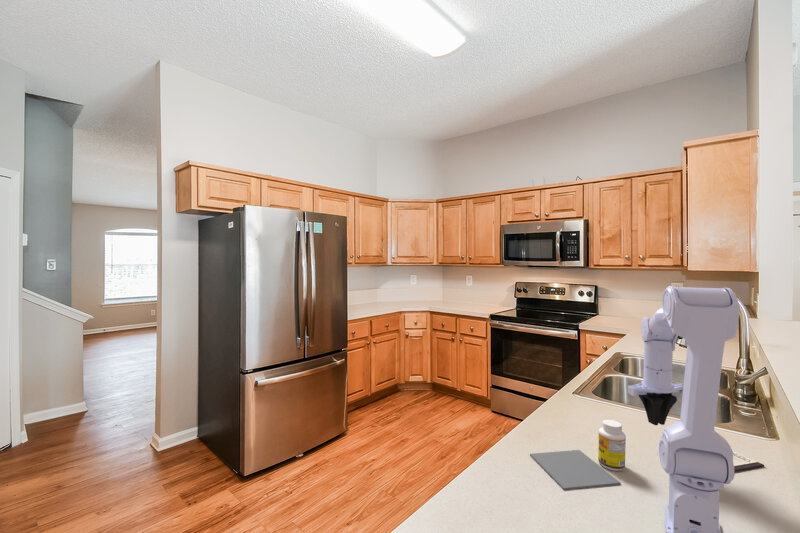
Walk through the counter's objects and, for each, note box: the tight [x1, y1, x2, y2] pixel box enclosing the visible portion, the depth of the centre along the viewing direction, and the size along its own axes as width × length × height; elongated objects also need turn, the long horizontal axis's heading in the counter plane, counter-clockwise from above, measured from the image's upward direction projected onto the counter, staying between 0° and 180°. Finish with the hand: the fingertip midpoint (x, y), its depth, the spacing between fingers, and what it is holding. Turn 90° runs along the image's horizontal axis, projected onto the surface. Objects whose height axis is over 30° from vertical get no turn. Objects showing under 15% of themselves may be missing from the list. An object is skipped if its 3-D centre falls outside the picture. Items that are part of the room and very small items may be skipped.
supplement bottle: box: [597, 419, 627, 472], centre depth 88 cm, size 6×6×10 cm
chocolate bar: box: [732, 450, 765, 473], centre depth 90 cm, size 9×1×18 cm
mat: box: [529, 449, 621, 491], centre depth 86 cm, size 14×14×1 cm
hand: (656, 423), depth 90 cm, fingers closed
